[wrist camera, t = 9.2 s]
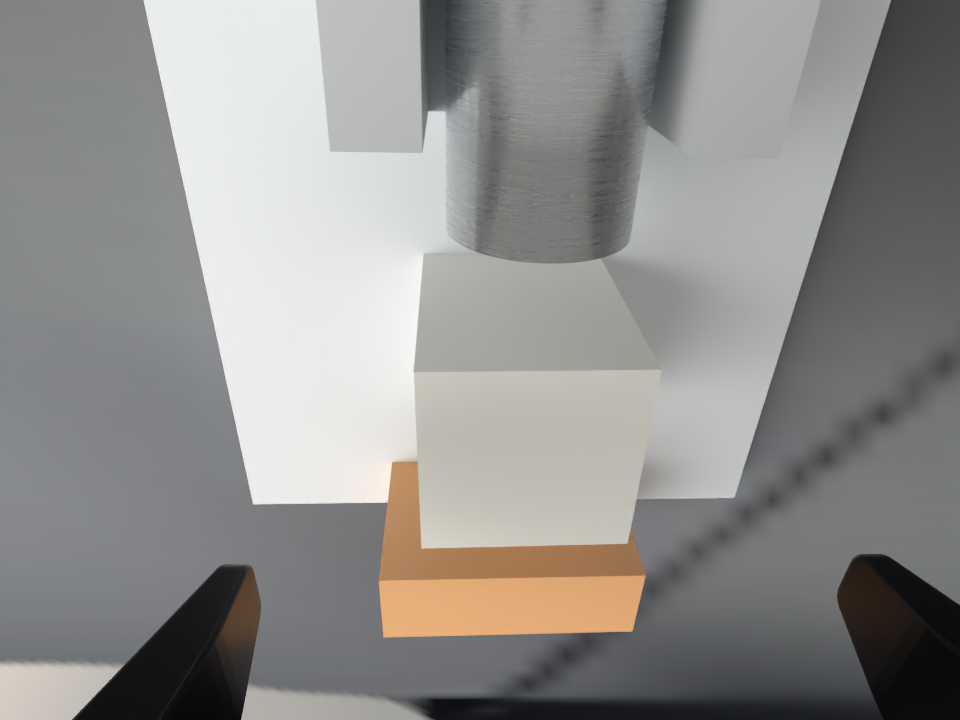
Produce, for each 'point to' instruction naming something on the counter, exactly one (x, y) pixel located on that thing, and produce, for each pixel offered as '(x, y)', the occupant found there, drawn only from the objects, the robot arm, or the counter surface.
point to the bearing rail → (422, 230)
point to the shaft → (547, 124)
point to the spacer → (528, 404)
